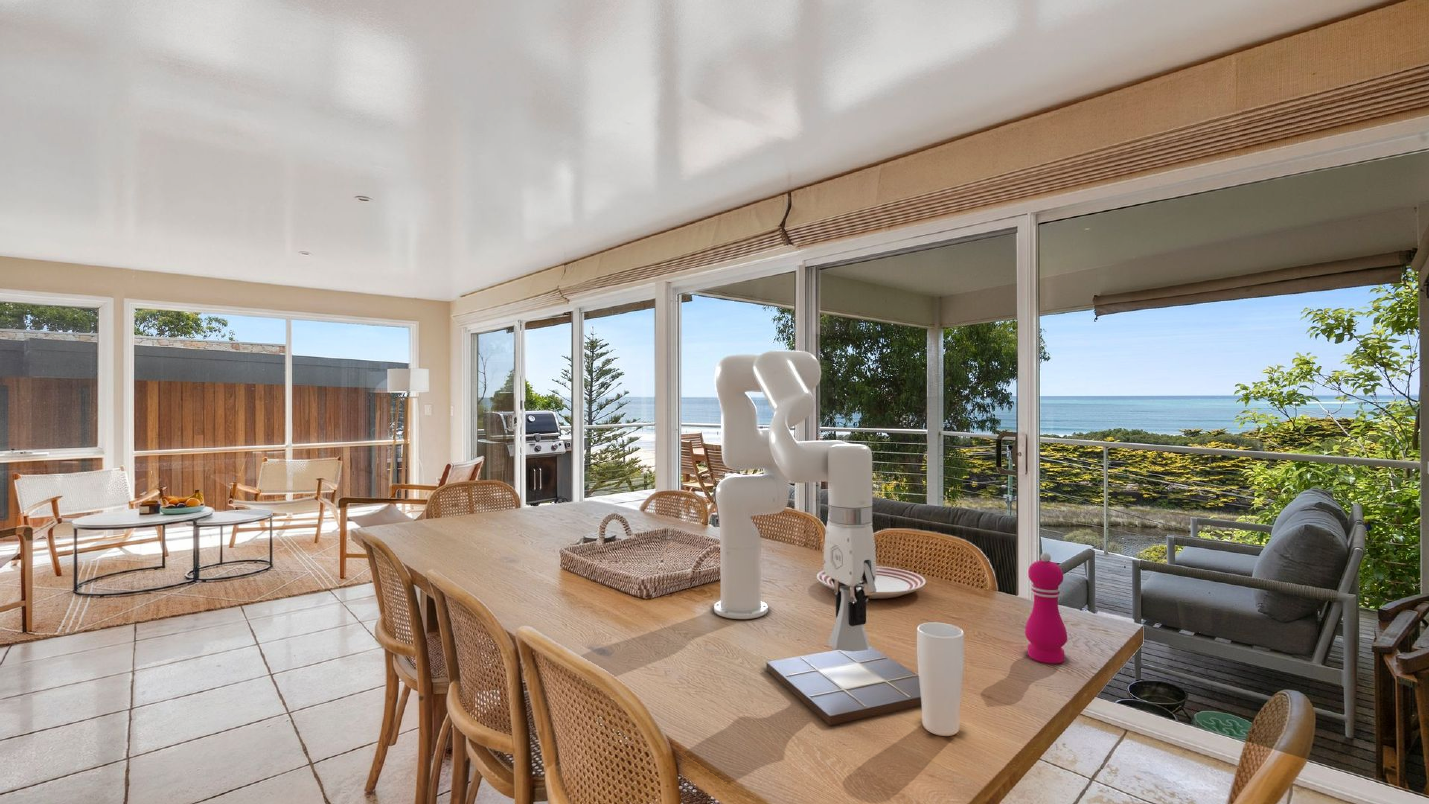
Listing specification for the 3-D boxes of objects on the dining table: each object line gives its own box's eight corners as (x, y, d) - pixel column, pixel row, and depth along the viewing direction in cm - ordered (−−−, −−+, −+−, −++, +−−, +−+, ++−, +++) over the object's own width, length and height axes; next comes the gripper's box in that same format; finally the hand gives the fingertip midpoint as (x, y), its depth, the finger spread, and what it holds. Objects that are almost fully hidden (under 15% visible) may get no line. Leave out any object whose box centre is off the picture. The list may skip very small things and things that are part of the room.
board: (766, 670, 120) (766, 661, 120) (867, 652, 128) (867, 644, 128) (829, 726, 100) (829, 715, 100) (945, 700, 108) (945, 690, 108)
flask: (874, 653, 110) (874, 594, 110) (831, 653, 110) (831, 593, 110) (865, 637, 117) (865, 582, 117) (824, 637, 117) (824, 581, 117)
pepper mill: (1050, 667, 120) (1050, 559, 120) (1016, 654, 127) (1016, 551, 126) (1075, 660, 124) (1075, 554, 123) (1041, 647, 130) (1040, 547, 130)
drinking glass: (910, 718, 102) (909, 622, 101) (952, 716, 102) (951, 620, 102) (928, 741, 95) (927, 638, 95) (973, 739, 95) (972, 636, 95)
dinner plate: (805, 576, 182) (805, 564, 182) (900, 573, 185) (900, 561, 185) (834, 608, 155) (834, 594, 155) (944, 603, 158) (944, 589, 158)
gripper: (807, 509, 120) (808, 609, 120) (858, 525, 105) (859, 640, 105) (842, 506, 123) (843, 604, 123) (897, 522, 107) (898, 633, 107)
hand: (850, 619), depth 114 cm, fingers closed on flask, 3 cm apart
